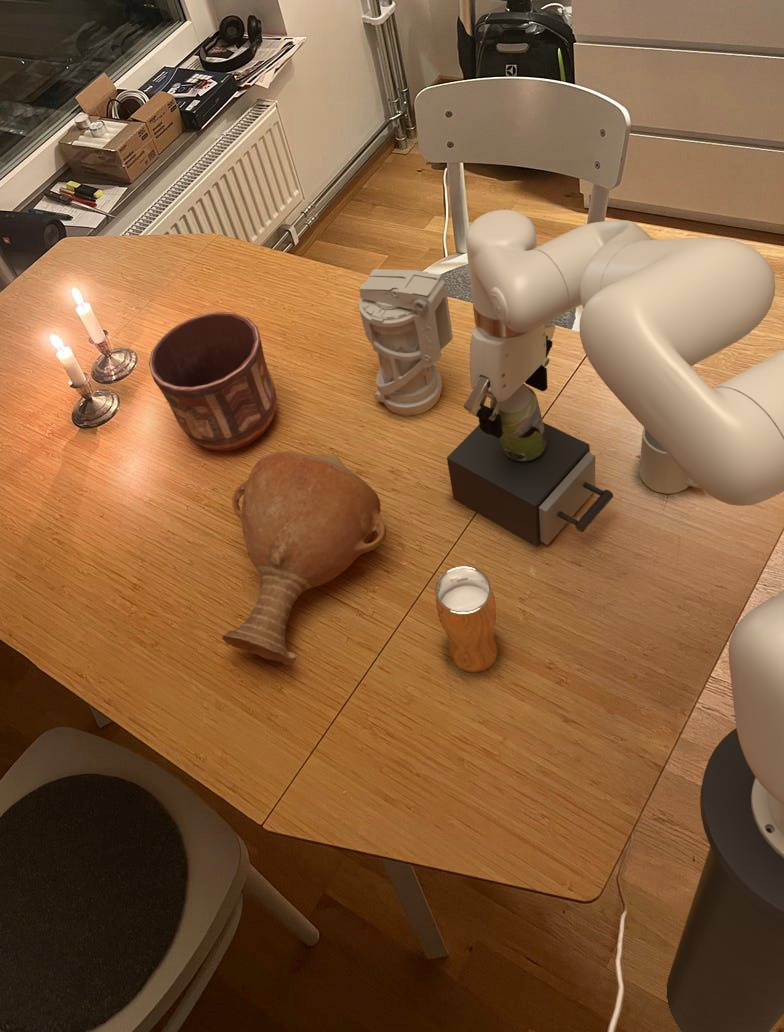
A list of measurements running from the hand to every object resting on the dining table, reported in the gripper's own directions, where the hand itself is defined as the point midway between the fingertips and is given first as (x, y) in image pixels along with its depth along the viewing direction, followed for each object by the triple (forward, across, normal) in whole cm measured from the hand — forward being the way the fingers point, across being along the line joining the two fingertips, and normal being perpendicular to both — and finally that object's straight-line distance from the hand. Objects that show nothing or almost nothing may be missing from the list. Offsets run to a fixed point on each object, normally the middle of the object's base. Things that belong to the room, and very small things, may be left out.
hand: (514, 409), depth 119 cm
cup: (+18, -14, +16) cm, 28 cm away
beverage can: (+9, 0, 0) cm, 9 cm away
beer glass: (+18, +24, +10) cm, 32 cm away
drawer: (+17, 0, +4) cm, 18 cm away
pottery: (+18, +15, -47) cm, 53 cm away
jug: (+18, +30, -16) cm, 39 cm away
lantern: (+18, -7, -25) cm, 32 cm away
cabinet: (+18, 0, 0) cm, 18 cm away
